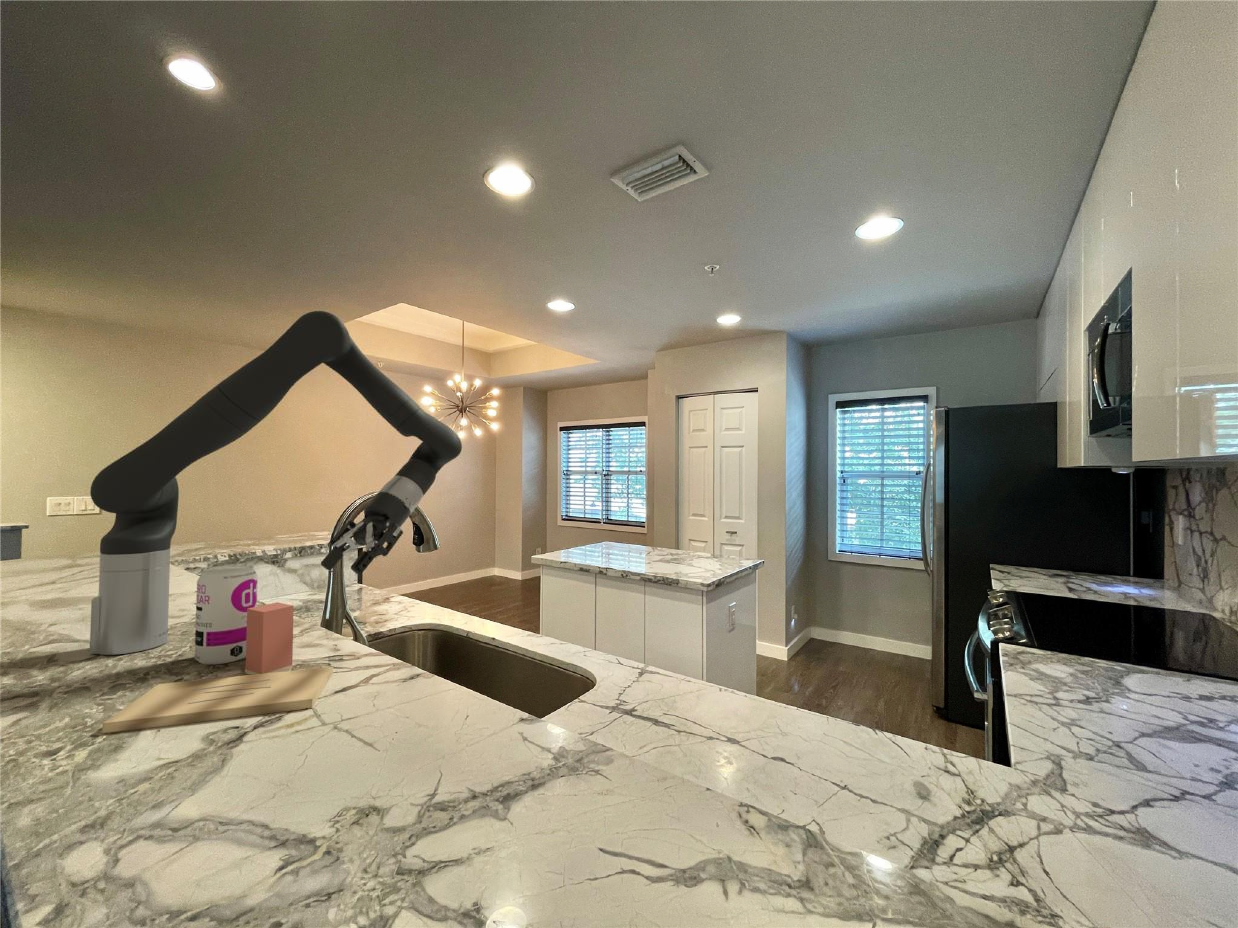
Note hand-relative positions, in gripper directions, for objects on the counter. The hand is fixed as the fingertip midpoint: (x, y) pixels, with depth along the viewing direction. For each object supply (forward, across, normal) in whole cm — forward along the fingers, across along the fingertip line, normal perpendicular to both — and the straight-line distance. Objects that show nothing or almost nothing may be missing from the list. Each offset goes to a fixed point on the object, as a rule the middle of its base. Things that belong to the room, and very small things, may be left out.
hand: (339, 569), depth 91 cm
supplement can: (+18, -13, +2) cm, 22 cm away
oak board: (+24, +7, -4) cm, 25 cm away
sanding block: (+18, 0, +2) cm, 18 cm away
